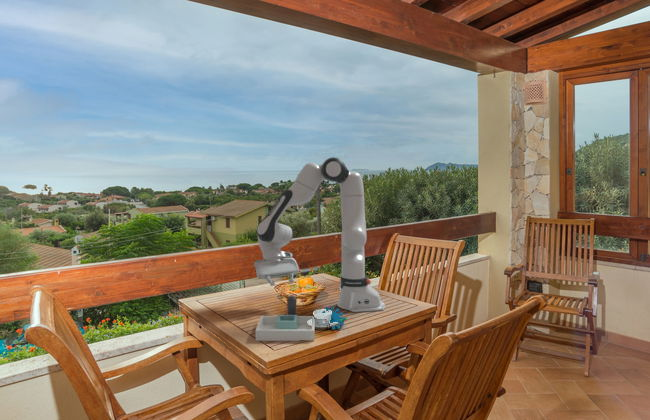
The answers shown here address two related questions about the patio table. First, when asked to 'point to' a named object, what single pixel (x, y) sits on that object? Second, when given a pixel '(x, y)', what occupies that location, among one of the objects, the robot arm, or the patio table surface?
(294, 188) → the robot arm
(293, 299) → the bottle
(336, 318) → the gear
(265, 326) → the walled box
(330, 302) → the patio table surface
